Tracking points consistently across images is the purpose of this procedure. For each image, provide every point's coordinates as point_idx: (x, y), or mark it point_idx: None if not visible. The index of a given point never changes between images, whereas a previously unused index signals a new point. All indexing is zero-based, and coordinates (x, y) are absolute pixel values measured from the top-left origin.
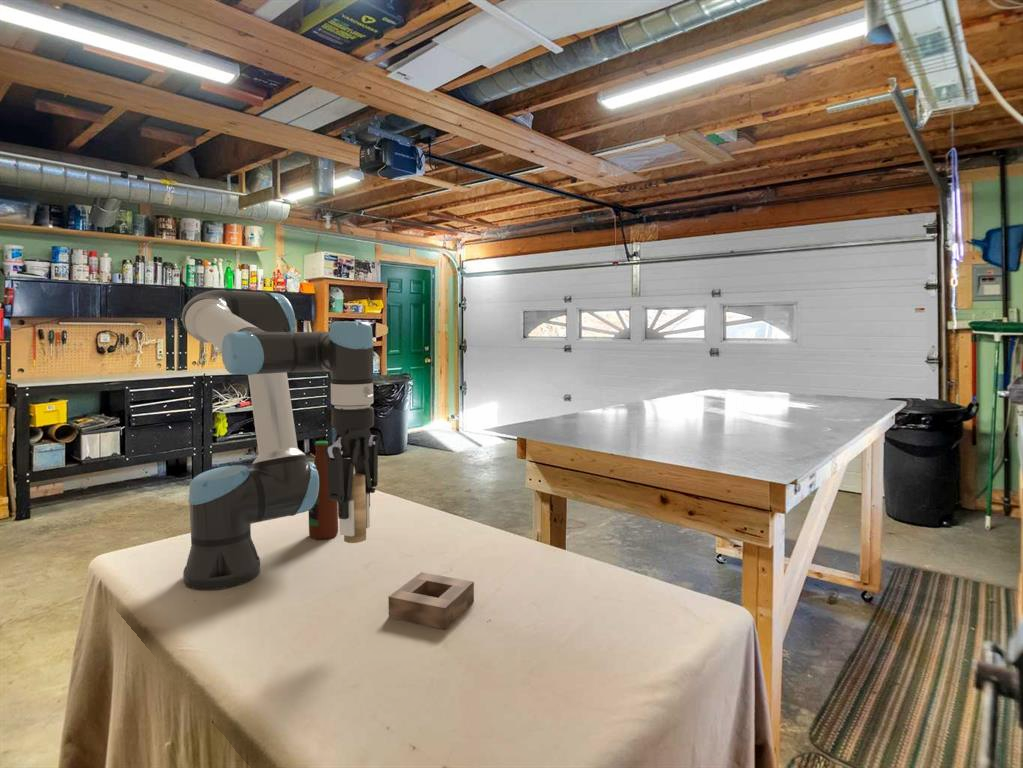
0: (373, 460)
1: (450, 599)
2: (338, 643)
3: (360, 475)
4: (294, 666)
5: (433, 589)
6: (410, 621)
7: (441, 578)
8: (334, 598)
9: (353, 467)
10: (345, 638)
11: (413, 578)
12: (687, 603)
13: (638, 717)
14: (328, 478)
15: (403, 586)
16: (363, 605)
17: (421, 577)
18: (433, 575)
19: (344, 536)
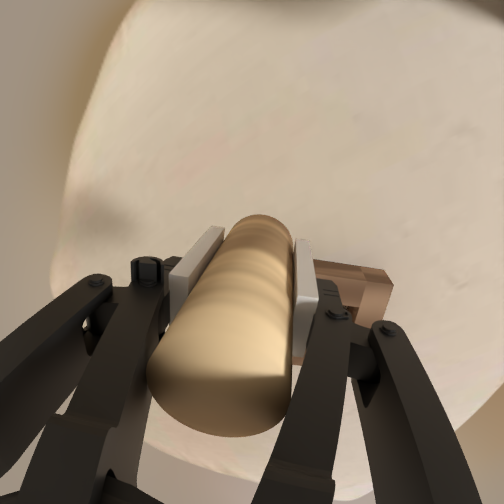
0: (376, 488)
1: (294, 360)
2: (188, 216)
3: (242, 418)
4: (124, 191)
5: (353, 311)
6: None
7: (370, 326)
8: (325, 127)
9: (135, 459)
10: (203, 219)
11: (365, 282)
12: (361, 485)
13: (189, 461)
14: (23, 327)
15: (328, 278)
16: (313, 193)
17: (371, 293)
18: (381, 310)
19: (232, 228)
